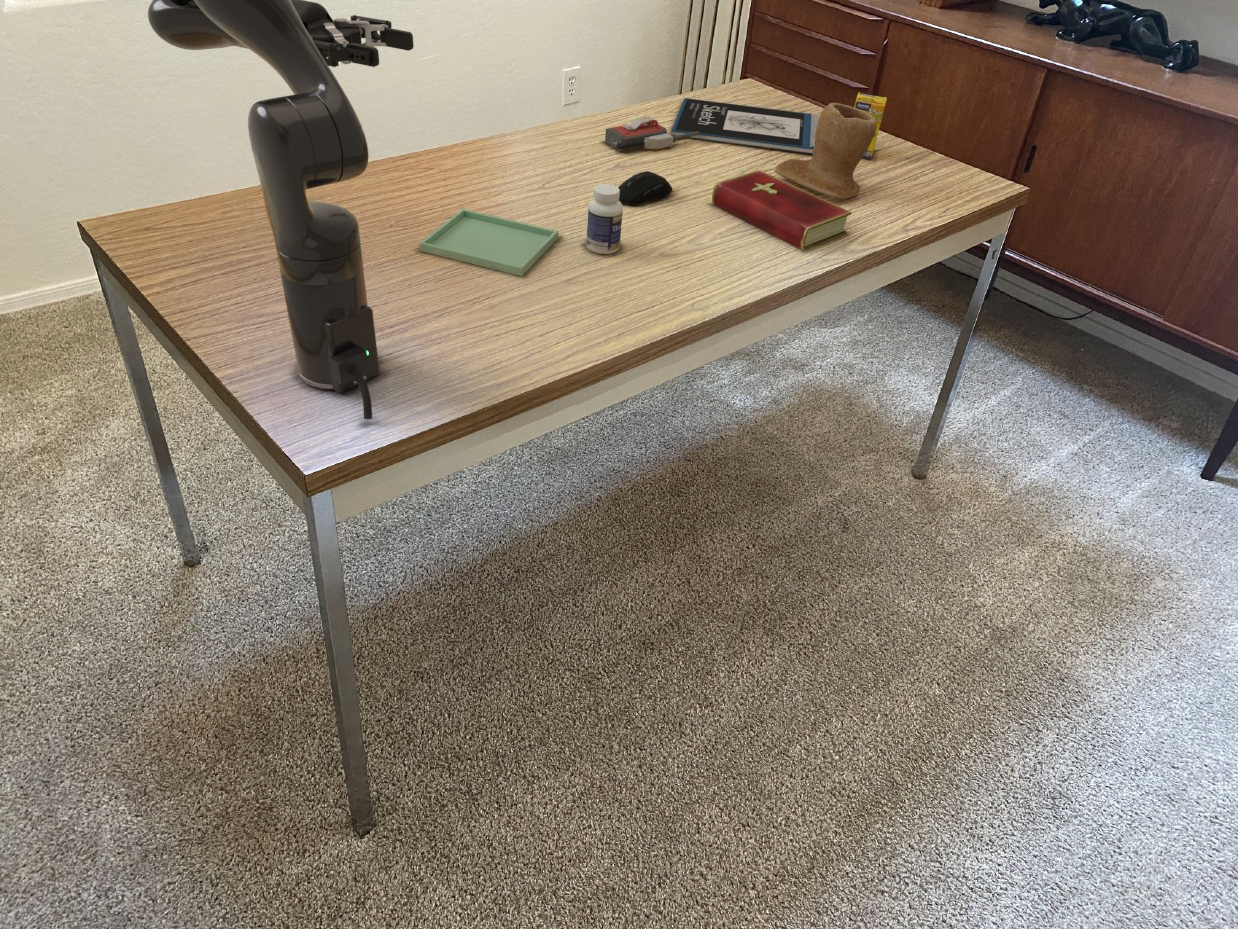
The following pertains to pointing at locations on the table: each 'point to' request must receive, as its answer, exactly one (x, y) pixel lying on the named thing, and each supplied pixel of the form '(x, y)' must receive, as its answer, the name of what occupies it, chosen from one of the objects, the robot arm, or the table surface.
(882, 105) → the supplement box
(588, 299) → the table surface
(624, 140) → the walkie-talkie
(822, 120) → the brown boot
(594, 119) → the table surface
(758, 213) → the hardcover book
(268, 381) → the table surface
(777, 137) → the sketchbook
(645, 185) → the gaming mouse
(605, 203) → the pill bottle
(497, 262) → the tray
